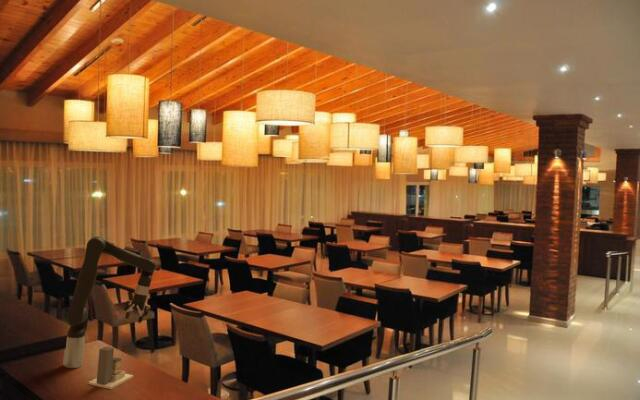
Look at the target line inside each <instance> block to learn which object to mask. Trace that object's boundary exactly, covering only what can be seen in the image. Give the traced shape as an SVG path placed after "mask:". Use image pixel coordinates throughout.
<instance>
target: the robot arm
mask: <svg viewBox="0 0 640 400" xmlns="http://www.w3.org/2000/svg"><path fill="white" fill-rule="evenodd" d="M102 254H107V255H109V256H111V257H114V258H115V259H117V260H118V261H120V262H121V263H125V264H127V265H130V266H132V267H135V268H137V269H140V271H141V273H140V275H139V278H138V279H137V285H136V287H135V289H134V293H133V297H132V300H127V301H126V303H125V306H124V309H123V310H124V311H125V312H126V313H125V319H126V320H129V319H130V315H131V312H132V311H136V312H138V314H139V316H138V317H139V318H138V321H137V323H138V324H142V322H143V319H144V317H147V316H148V313H149V310H150V306H149V305H146V302H147V300H148V294H149V291H150V286H151V283H152V278H153V274H154V271H155V269H156V262H155V261H154V260H153V259H148V258H146V257H142V256H140V255H139V254H137V253H135V252H132V251H130V250H127V249H126V248H122V247H120V246H118V245H115V244H114V243H111V242H109V241H108V240H107V239H105V238H103V237H101V236H93V237H91V238H89V240H88V241H87V243H86V248H85V254H84V259H83V263H82V265H81V268H80V271H79V274H78V277H77V280H76V286H75V289H74V292H73V297H72V300H71V303H70V306H69V308H68V311H67V314H66V322H67V323H68V325H69V328H68V330H67V334H66V345H65V348H64V350H63V362H62V366H63V367H64V368H67V369H77V368H80V367H82V366H83V361H84V349H85V339H86V332H87V329H88V323H89V312H88V309H87V308H86V303H87V301H88V299H89V297H90V296H91V293H92V291H93V290H94V288H95V284H96V280H97V276H98V264H99V260H100V257H101V255H102Z"/></svg>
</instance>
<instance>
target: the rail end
mask: <svg viewBox="0 0 640 400" xmlns="http://www.w3.org/2000/svg"><path fill="white" fill-rule="evenodd" d="M121 363H122V358H120V357H116V356H115V357H114V356H113V365H112V375H114V376H116V375H118V374H120V371H121V365H122V364H121Z"/></svg>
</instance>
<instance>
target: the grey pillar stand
mask: <svg viewBox="0 0 640 400" xmlns="http://www.w3.org/2000/svg"><path fill="white" fill-rule="evenodd" d="M114 351H115V348H114V347H111V346H104V347H101V348H99V351H98V363H97V373H96V377H95V378H94V379H92V380H90V381H88V385H90V386H95V387H100V388H104V389H108V390H112V389H115V388H116V387H118V386H120V385H121V384H123V383H125V382H128V381H129V380H131V379H133V378H134V375H133V374H129V373H126V371H124V370H120V374H118V375H116V376H114V375H112V365H113V358H114Z"/></svg>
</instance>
